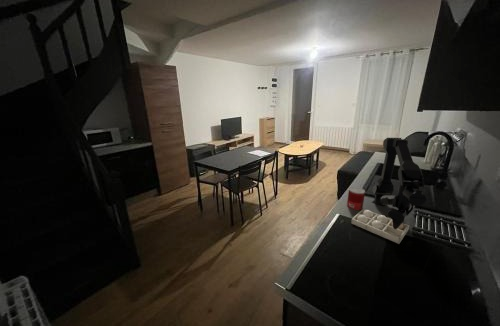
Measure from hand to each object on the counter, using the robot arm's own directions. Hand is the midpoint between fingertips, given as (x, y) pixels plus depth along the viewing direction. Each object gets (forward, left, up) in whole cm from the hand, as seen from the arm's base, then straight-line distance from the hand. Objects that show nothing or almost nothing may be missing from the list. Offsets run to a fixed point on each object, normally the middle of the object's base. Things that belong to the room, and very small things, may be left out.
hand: (398, 224), depth 95 cm
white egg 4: (0, -7, -3) cm, 7 cm away
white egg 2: (0, -13, -3) cm, 14 cm away
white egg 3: (+7, -7, -3) cm, 10 cm away
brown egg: (0, 0, -3) cm, 3 cm away
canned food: (-7, -23, -4) cm, 24 cm away
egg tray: (+3, -7, -3) cm, 8 cm away
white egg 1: (+7, -13, -3) cm, 15 cm away
